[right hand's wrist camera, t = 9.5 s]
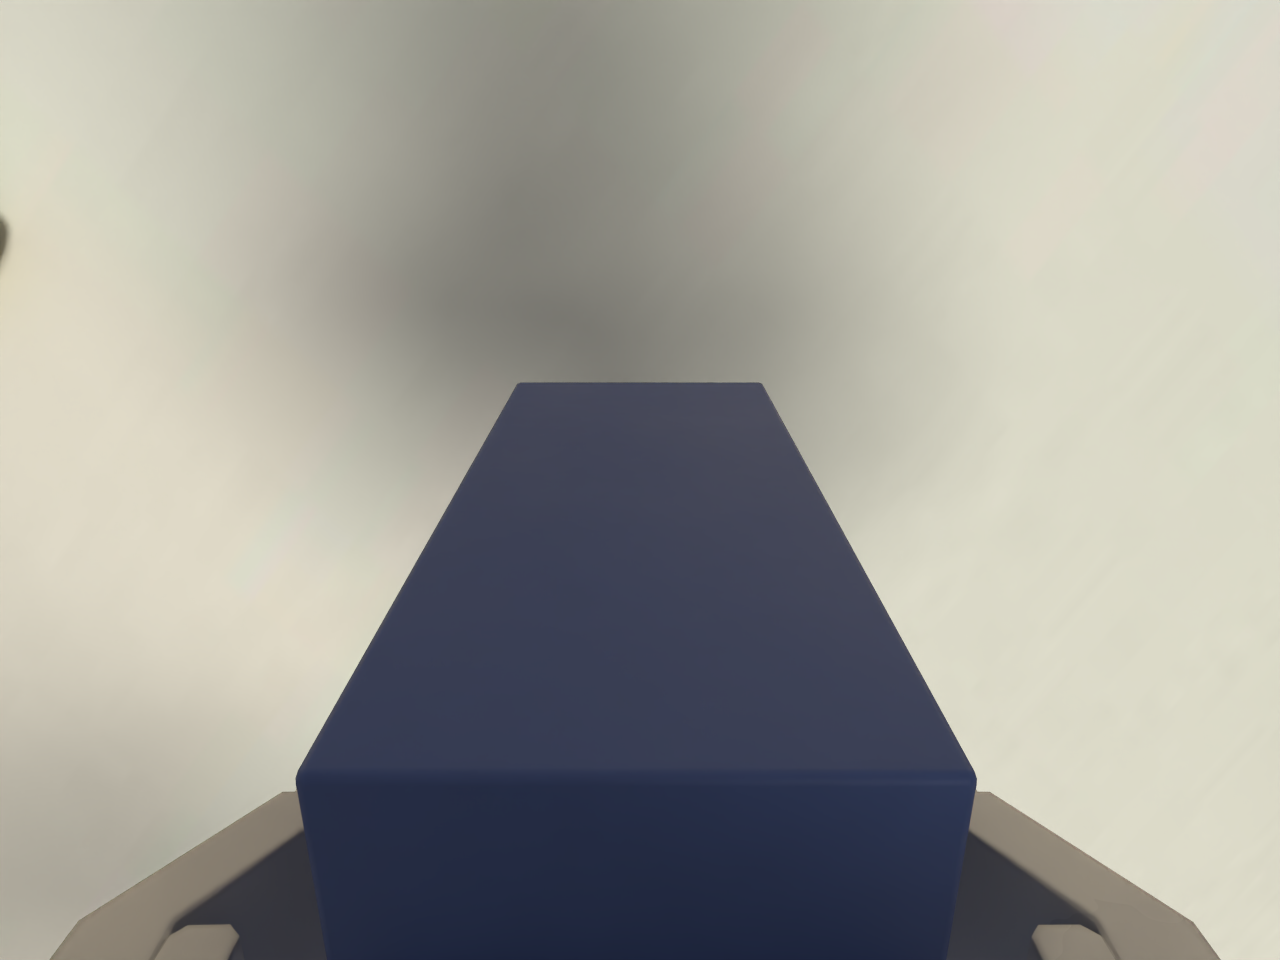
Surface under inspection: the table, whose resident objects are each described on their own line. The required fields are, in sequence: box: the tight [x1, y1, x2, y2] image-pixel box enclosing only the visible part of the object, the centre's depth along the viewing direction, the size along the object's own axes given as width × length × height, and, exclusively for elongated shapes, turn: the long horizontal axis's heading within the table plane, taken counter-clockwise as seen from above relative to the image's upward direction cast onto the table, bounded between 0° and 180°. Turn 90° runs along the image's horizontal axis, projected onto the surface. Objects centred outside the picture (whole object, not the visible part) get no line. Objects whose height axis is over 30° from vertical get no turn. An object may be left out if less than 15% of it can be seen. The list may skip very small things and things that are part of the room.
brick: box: [296, 383, 977, 960], centre depth 11 cm, size 4×7×10 cm, turn 0°
